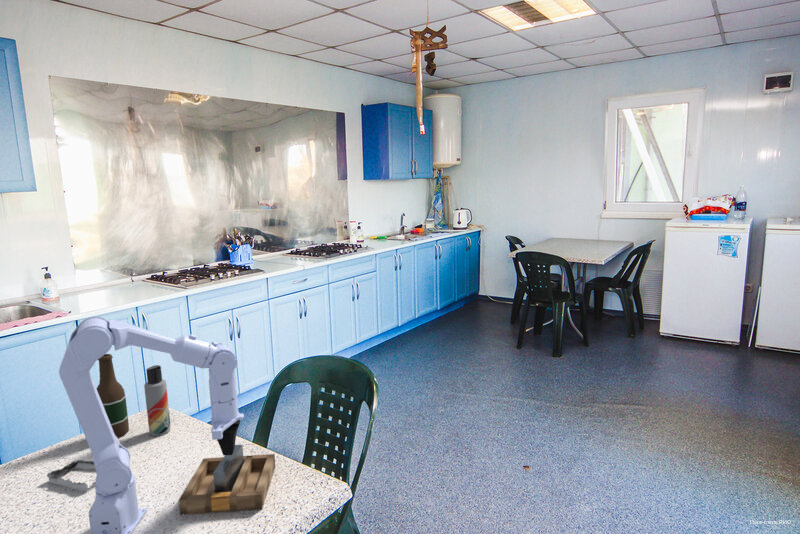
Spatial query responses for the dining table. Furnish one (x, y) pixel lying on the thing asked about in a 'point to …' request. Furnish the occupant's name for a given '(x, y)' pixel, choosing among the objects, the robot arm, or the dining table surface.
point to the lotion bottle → (157, 402)
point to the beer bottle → (112, 396)
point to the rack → (243, 495)
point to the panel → (228, 470)
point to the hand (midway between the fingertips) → (228, 453)
